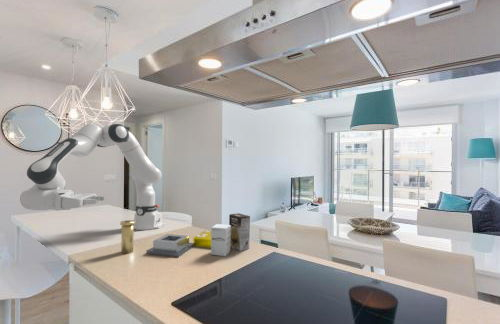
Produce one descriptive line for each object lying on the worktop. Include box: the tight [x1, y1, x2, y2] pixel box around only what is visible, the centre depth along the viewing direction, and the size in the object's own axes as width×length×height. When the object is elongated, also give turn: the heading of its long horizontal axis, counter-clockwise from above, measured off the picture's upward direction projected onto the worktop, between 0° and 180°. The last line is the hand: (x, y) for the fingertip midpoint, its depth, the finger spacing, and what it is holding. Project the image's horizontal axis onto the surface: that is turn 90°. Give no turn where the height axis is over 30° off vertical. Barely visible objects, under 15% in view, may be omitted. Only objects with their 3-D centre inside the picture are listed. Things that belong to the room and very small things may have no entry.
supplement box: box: [210, 223, 231, 257], centre depth 118 cm, size 7×7×13 cm
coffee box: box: [228, 212, 251, 252], centre depth 127 cm, size 9×6×16 cm
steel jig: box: [146, 233, 195, 258], centre depth 122 cm, size 16×16×6 cm
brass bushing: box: [120, 219, 135, 255], centre depth 118 cm, size 6×6×14 cm
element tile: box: [192, 230, 211, 249], centre depth 134 cm, size 15×15×5 cm
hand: (100, 199), depth 116 cm, fingers open, 8 cm apart
